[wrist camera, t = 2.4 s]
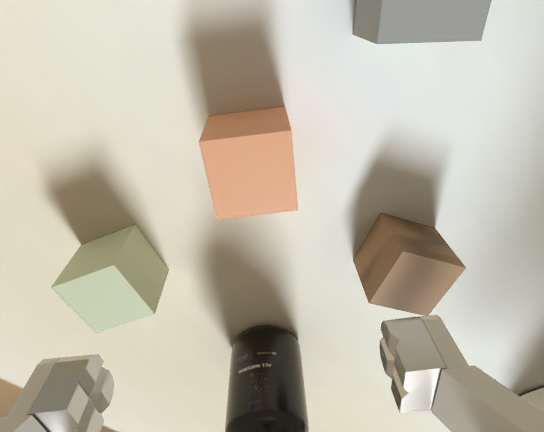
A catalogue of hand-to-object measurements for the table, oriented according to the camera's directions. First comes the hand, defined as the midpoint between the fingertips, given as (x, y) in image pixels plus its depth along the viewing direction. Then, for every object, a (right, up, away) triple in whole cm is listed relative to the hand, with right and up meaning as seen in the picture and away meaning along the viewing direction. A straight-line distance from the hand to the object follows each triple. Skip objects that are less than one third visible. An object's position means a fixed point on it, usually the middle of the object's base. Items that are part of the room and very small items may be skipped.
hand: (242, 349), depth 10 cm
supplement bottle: (0, -9, +25) cm, 27 cm away
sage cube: (-11, +1, +19) cm, 22 cm away
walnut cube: (+11, +2, +19) cm, 22 cm away
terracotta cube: (-1, +9, +14) cm, 17 cm away
